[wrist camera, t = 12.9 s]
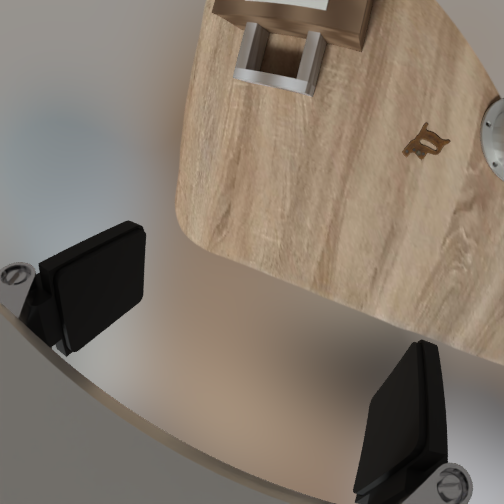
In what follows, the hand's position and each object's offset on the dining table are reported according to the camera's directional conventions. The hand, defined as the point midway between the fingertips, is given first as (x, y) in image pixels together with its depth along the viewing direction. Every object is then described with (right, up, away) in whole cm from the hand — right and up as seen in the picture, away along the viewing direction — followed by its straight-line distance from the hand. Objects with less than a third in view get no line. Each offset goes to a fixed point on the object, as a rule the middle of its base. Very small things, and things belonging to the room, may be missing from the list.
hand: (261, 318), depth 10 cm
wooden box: (+7, +35, +25) cm, 43 cm away
